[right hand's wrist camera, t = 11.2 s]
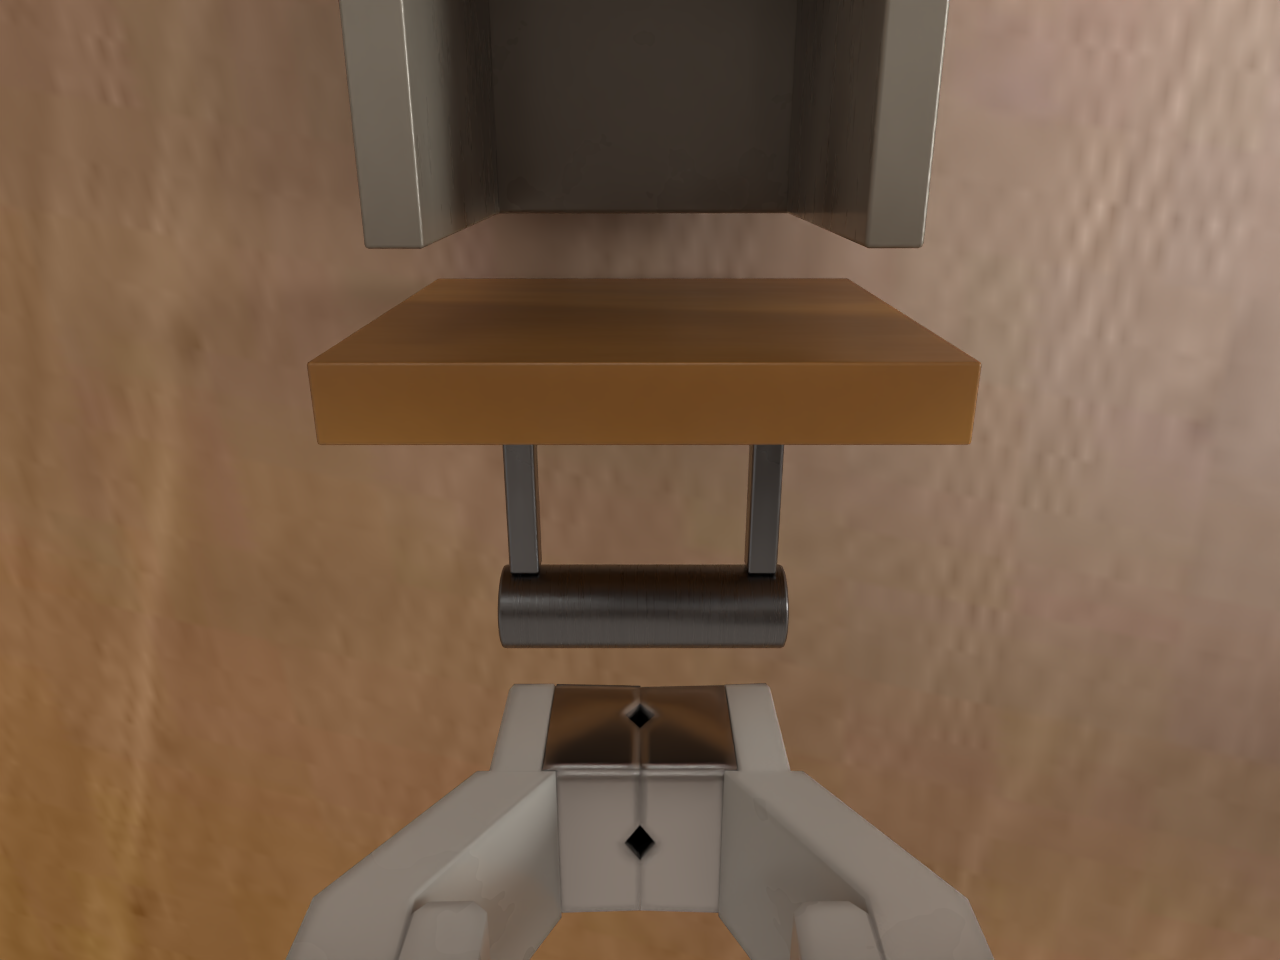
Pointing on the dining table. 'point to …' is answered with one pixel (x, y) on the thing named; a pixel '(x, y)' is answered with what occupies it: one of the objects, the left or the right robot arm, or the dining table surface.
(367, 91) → the drawer
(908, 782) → the dining table surface
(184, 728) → the dining table surface
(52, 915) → the dining table surface
